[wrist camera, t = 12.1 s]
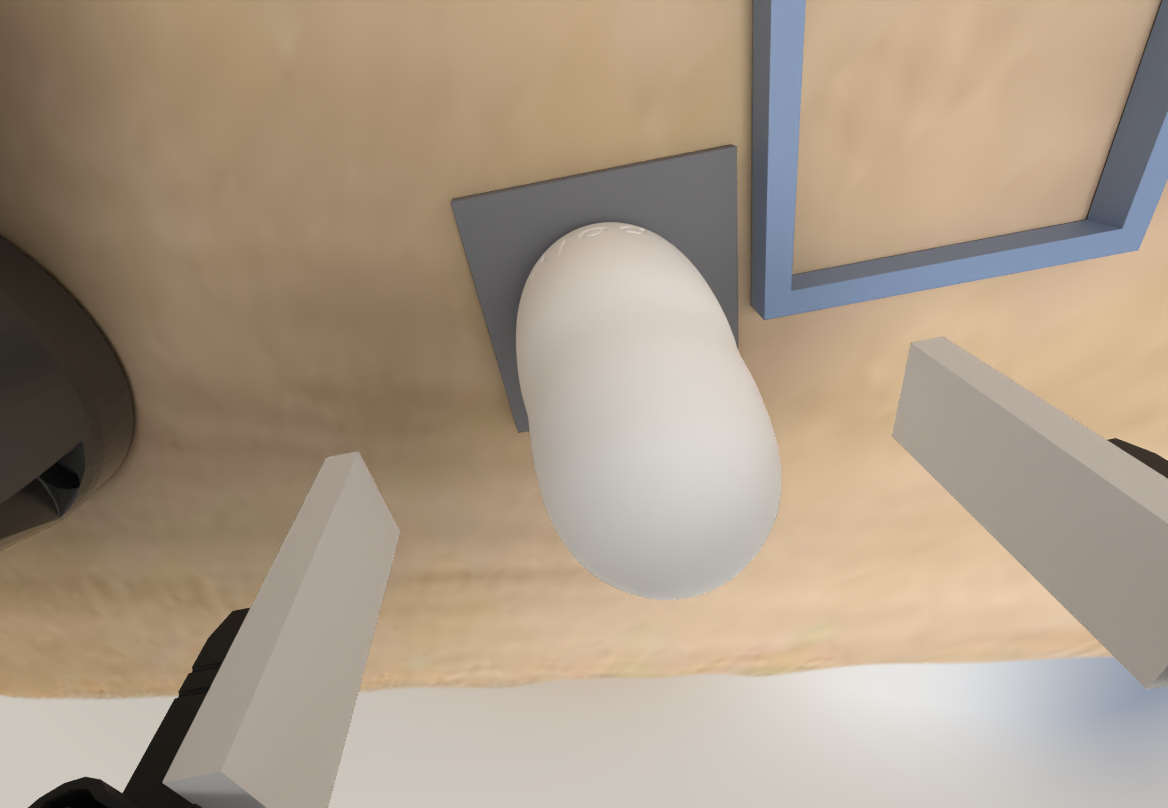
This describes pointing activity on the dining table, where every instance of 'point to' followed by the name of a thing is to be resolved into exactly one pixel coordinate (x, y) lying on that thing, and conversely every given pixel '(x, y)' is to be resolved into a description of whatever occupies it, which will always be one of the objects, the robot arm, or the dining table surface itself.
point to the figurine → (643, 415)
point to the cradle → (1114, 225)
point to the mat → (620, 194)
